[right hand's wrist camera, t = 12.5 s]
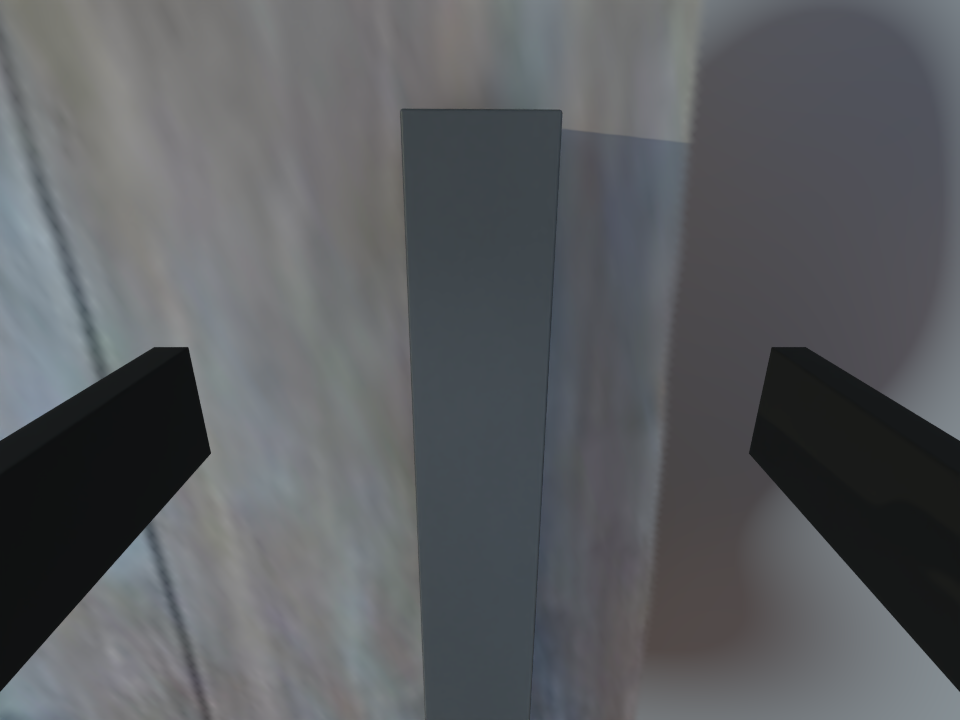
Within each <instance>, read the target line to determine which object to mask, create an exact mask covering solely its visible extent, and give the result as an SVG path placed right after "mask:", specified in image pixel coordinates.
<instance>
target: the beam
mask: <svg viewBox="0 0 960 720" xmlns="http://www.w3.org/2000/svg"><path fill="white" fill-rule="evenodd" d="M400 119H401V143H402V167H403V192H404V216H405V240H406V264H407V289H408V313H409V337H410V361H411V386H412V410H413V434H414V458H415V483H416V507H417V531H418V555H419V580H420V604H421V628H422V652H423V677H424V701H425V720H530V705H531V686H532V668H533V649H534V631H535V612H536V593H537V575H538V556H539V538H540V519H541V500H542V482H543V463H544V445H545V426H546V407H547V389H548V370H549V352H550V333H551V314H552V296H553V277H554V259H555V240H556V221H557V203H558V184H559V166H560V147H561V128H562V111H561V110H516V109H401V111H400Z"/></svg>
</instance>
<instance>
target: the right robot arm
mask: <svg viewBox="0 0 960 720" xmlns="http://www.w3.org/2000/svg"><path fill="white" fill-rule="evenodd" d="M210 454H211V451H210V447H209V442H208V437H207V432H206V428H205V423H204V418H203V414H202V409H201V404H200V400H199V395H198V390H197V386H196V381H195V376H194V372H193V367H192V362H191V358H190V353H189V348H188V347H154V348H152V349H151V350H149V351H147V352H146V353H144V354H142V355H141V356H139V357H137V358H136V359H134V360H132V361H131V362H129V363H128V364H126V365H124V366H123V367H121V368H119V369H118V370H116V371H114V372H113V373H111V374H109V375H108V376H106V377H105V378H103V379H101V380H100V381H98V382H96V383H95V384H93V385H91V386H90V387H88V388H86V389H85V390H83V391H82V392H80V393H78V394H77V395H75V396H73V397H72V398H70V399H68V400H67V401H65V402H63V403H62V404H60V405H59V406H57V407H55V408H54V409H52V410H50V411H49V412H47V413H45V414H44V415H42V416H40V417H39V418H37V419H35V420H34V421H32V422H31V423H29V424H27V425H26V426H24V427H22V428H21V429H19V430H17V431H16V432H14V433H12V434H11V435H9V436H8V437H6V438H4V439H3V440H1V441H0V691H1V690H2V689H3V688H4V687H5V686H6V685H7V684H8V682H9V681H10V680H11V679H12V678H13V677H14V676H15V674H16V673H17V672H18V671H19V670H20V669H21V668H22V667H23V665H24V664H25V663H26V662H27V661H28V660H29V659H30V657H31V656H32V655H33V654H34V653H35V652H36V651H37V650H38V648H39V647H40V646H41V645H42V644H43V643H44V642H45V641H46V639H47V638H48V637H49V636H50V635H51V634H52V633H53V631H54V630H55V629H56V628H57V627H58V626H59V625H60V624H61V622H62V621H63V620H64V619H65V618H66V617H67V616H68V615H69V613H70V612H71V611H72V610H73V609H74V608H75V607H76V605H77V604H78V603H79V602H80V601H81V600H82V599H83V598H84V596H85V595H86V594H87V593H88V592H89V591H90V590H91V589H92V587H93V586H94V585H95V584H96V583H97V582H98V581H99V579H100V578H101V577H102V576H103V575H104V574H105V573H106V572H107V570H108V569H109V568H110V567H111V566H112V565H113V564H114V562H115V561H116V560H117V559H118V558H119V557H120V556H121V555H122V553H123V552H124V551H125V550H126V549H127V548H128V547H129V546H130V544H131V543H132V542H133V541H134V540H135V539H136V538H137V536H138V535H139V534H140V533H141V532H142V531H143V530H144V529H145V527H146V526H147V525H148V524H149V523H150V522H151V521H152V520H153V518H154V517H155V516H156V515H157V514H158V513H159V512H160V510H161V509H162V508H163V507H164V506H165V505H166V504H167V503H168V501H169V500H170V499H171V498H172V497H173V496H174V495H175V494H176V492H177V491H178V490H179V489H180V488H181V487H182V486H183V484H184V483H185V482H186V481H187V480H188V479H189V478H190V477H191V475H192V474H193V473H194V472H195V471H196V470H197V469H198V467H199V466H200V465H201V464H202V463H203V462H204V461H205V460H206V458H207V457H208V456H209V455H210ZM749 454H750V455H751V456H752V457H753V458H754V460H755V461H756V462H757V463H758V464H759V465H760V466H761V467H762V469H763V470H764V471H765V472H766V473H767V474H768V475H769V477H770V478H771V479H772V480H773V481H774V482H775V483H776V484H777V486H778V487H779V488H780V489H781V490H782V491H783V492H784V493H785V495H786V496H787V497H788V498H789V499H790V500H791V501H792V503H793V504H794V505H795V506H796V507H797V508H798V509H799V510H800V512H801V513H802V514H803V515H804V516H805V517H806V518H807V520H808V521H809V522H810V523H811V524H812V525H813V526H814V527H815V529H816V530H817V531H818V532H819V533H820V534H821V535H822V536H823V538H824V539H825V540H826V541H827V542H828V543H829V544H830V546H831V547H832V548H833V549H834V550H835V551H836V552H837V553H838V555H839V556H840V557H841V558H842V559H843V560H844V561H845V562H846V564H847V565H848V566H849V567H850V568H851V569H852V570H853V572H854V573H855V574H856V575H857V576H858V577H859V578H860V579H861V581H862V582H863V583H864V584H865V585H866V586H867V587H868V589H869V590H870V591H871V592H872V593H873V594H874V595H875V596H876V598H877V599H878V600H879V601H880V602H881V603H882V604H883V605H884V607H885V608H886V609H887V610H888V611H889V612H890V613H891V615H892V616H893V617H894V618H895V619H896V620H897V621H898V622H899V624H900V625H901V626H902V627H903V628H904V629H905V630H906V631H907V633H908V634H909V635H910V636H911V637H912V638H913V639H914V641H915V642H916V643H917V644H918V645H919V646H920V647H921V648H922V650H923V651H924V652H925V653H926V654H927V655H928V656H929V657H930V659H931V660H932V661H933V662H934V663H935V664H936V665H937V667H938V668H939V669H940V670H941V671H942V672H943V673H944V674H945V676H946V677H947V678H948V679H949V680H950V681H951V682H952V684H953V685H954V686H955V687H956V688H957V689H958V690H959V691H960V441H959V440H957V439H956V438H954V437H952V436H951V435H949V434H947V433H946V432H944V431H943V430H941V429H939V428H938V427H936V426H934V425H933V424H931V423H929V422H928V421H926V420H924V419H923V418H921V417H920V416H918V415H916V414H915V413H913V412H911V411H910V410H908V409H906V408H905V407H903V406H901V405H900V404H898V403H897V402H895V401H893V400H892V399H890V398H888V397H887V396H885V395H883V394H882V393H880V392H878V391H877V390H875V389H874V388H872V387H870V386H869V385H867V384H865V383H864V382H862V381H860V380H859V379H857V378H855V377H854V376H852V375H851V374H849V373H847V372H846V371H844V370H842V369H841V368H839V367H837V366H836V365H834V364H832V363H831V362H829V361H828V360H826V359H824V358H823V357H821V356H819V355H818V354H816V353H814V352H813V351H811V350H809V349H808V348H806V347H772V348H771V353H770V358H769V362H768V367H767V372H766V376H765V381H764V386H763V391H762V395H761V400H760V404H759V409H758V414H757V418H756V423H755V428H754V433H753V437H752V442H751V447H750V451H749Z"/></svg>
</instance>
